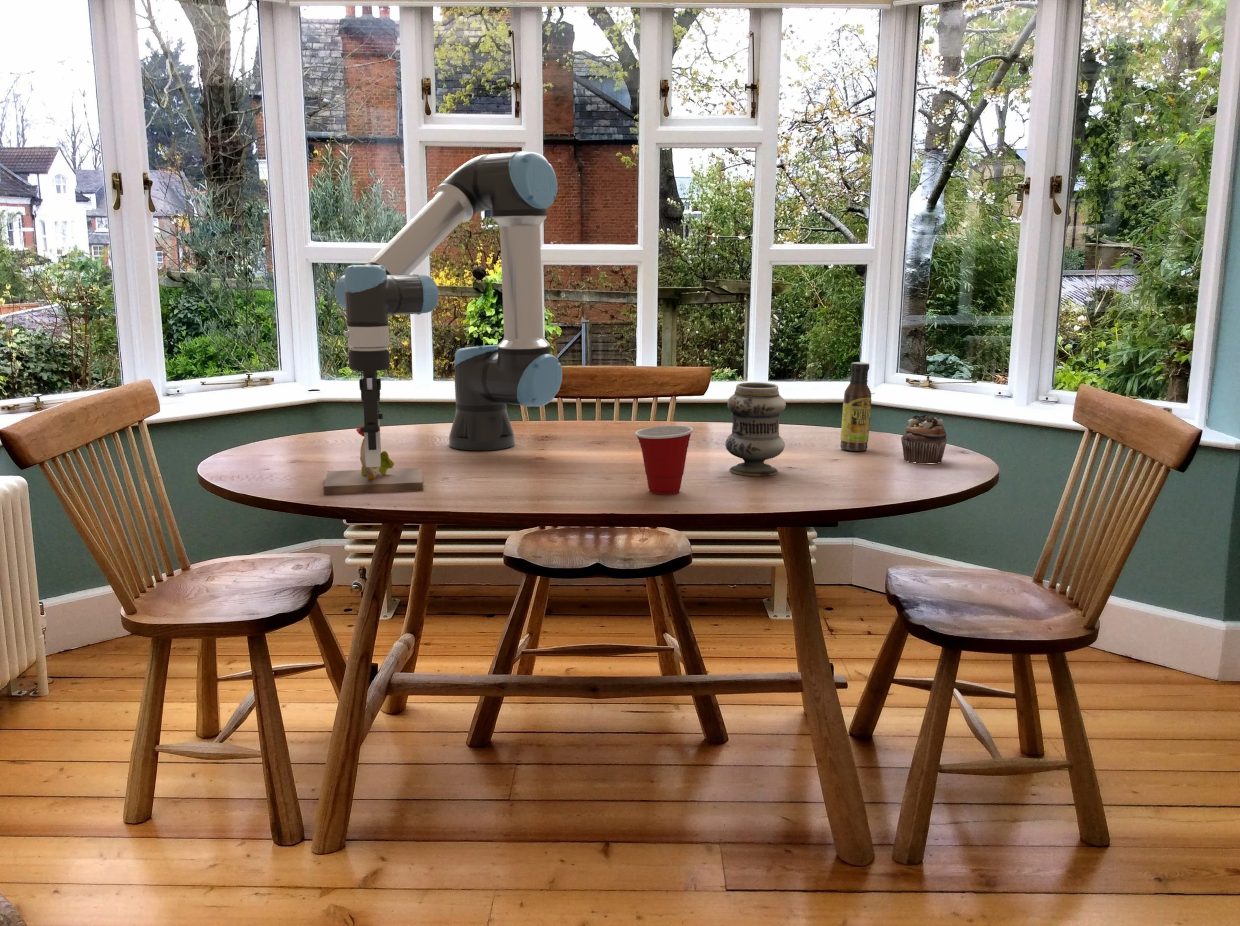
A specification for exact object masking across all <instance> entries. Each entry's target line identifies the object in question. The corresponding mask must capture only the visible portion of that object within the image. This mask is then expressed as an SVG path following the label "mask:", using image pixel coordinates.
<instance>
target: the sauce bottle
mask: <svg viewBox="0 0 1240 926" xmlns="http://www.w3.org/2000/svg"><path fill="white" fill-rule="evenodd" d="M869 370H870V363H869V362H863V361H856V362H855V361H854V362H851V364H850V379H849V384H848V386H847V387H846V389H845V391H844V393H843V394H844V396H843V403H842V415H841V416H842V417H841V429H840V449H842V450H845V451H852V452H855V451H856V452H863V451H867V449H868V443H869V437H870V423H871V422H870V421H871V409H872V392H871V389H870V388H869V386H868V377H869V375H868V374H869Z"/></svg>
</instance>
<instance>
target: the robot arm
mask: <svg viewBox="0 0 1240 926" xmlns="http://www.w3.org/2000/svg"><path fill="white" fill-rule="evenodd" d="M557 193H558V181H557V176H556V172H555V169H554V167H553V166H552V164H551V163H549V161H548V159H547V158H546V157H545V156H543V155H542V154H540V153H538V152H534V151H523V150H521V151H513V152H502V153H486V154H481V155H478V156H476V157H474V158H471V159H469V160H468V161H467V162H465V163H463V164H462V165H461V166H459V167H458V168H457V169H456V170H454V171H453V172H452V173H450V174H449V175H448V176H447V177H446V178H445V179H444V180H443V181H442V182H441V183H440V184H439V185H438V186H437V187H436V189H435V192H434V194H435V196H434V197H433V198H432V199H431V200H429V201H428V203H427V204H426V205H424V207H423V208H422V209H421V210H420V211H419V212H418V213H417V214H416V215H415V216H414V217H412V219H410V220H409V221H408V222H407V223H406V224H405V225H404V227H402V229H400V230H399V231H398V232H397V233H396V234H395V236H393V238H391V239H390V241H389V242H387V243H386V244H385V245H384V246H383V247H382V248H381V249H380V250H379V251H378V252H377V253H376V254H375V255H374V256H373V257H372V258H371V259H370V260H369V261H368V262H367V263H366V264H364V265H363V264H362V265H359V264H358V265H355V264H354V265H348V266H347V267H346V268H345V271H344V274H343V275H342V276H341V277H339V278H338V279H337V281H336V283H335V287H334V296H335V297H334V298H335V299H336V302H337V303H338V304H339V306H340V307H341V308H343V309H344V310H345V312H346V325H347V330H345V331H344V332H343V335H344V336H345V337H347V346H348V347H349V348H351V349H349V350H348V352H347V354H348V358H347V359H348V368H349V370H351V371H354V372H362V375H363V376H362V378H360V379H359V390H360V398H361V399H360V400H361V402H362V403H363V427H364V428H360V430H361V433H364V436H363V439H364V440H365V461H366V467H381V459H380V453H382V444H381V441H382V440H381V430H380V431H379V428H380V429H381V423H380V422H381V420H383V419H384V417H383V415H384V414H383V413H380V409H379V402H380V401H381V390H382V378H378V372H379V371H387V370H389V369H390V367H391V364H390V363H391V362H390V361H391V360H390V350H389V349H387V348H388V347H389V346H390V333H389V332H390V331H389V329H390V328H389V316H400V315H418V316H419V315H422V314H427V313H431V312H432V311H433V310H434V309H435V308H436V307H437V304H438V300H439V289H438V286H437V284H436V282H435V281H434V279H433V278H431V277H430V276H428V275H425V274H424V275H423V274H417V273H416V274H412V272H414V271H415V270H416V268H417V267H419V266H420V265H421V263H423V261H424V260H425V259H426V258H428V256H430V254H431V253H432V252H433V251H434V250H435V249H436V248H437V247H438V246H439V245H440V244H441V243H442V242H443V241H444V240H445V239H446V238H447V237H448V236H449V235H450V234H451V233H452V232H453V231H454V230H455V228H457V227H458V225H460V223H467V222H469V221H471V219H472V218H474V216H475V215H477V214H479V213H481V212H486V211H490V210H491V213H492V219H493V220H494V221H495V222H496V223H497V225H498V226H499V235H500V263H501V284H502V286H501V289H502V316H503V318H502V319H503V338H502V340H501V341H500V342H499V343H498V344H491V345H479V346H471V347H461V348H459V349H457V350H456V351H455V353H454V365H453V370H454V371H453V372H454V374H453V375H454V393H455V395H454V396H455V414H454V418H453V422H452V425H451V428H450V431H449V435H448V445H449V447H450V448H452V449H457V450H464V451H495V450H502V449H507V448H511V447H514V446H515V444H516V442H515V441H516V439H515V433H514V429H513V427H512V424H511V421H510V418H509V414H508V411H507V410H508V409H507V408H508V407H507V405H508V404H509V405H517V406H522V407H526V408H529V407H535V408H537V407H543V406H546V405H548V404H549V403H550V402H552V401H553V400H554V399H555V397H556V395H557V394H558V393H559V391H560V388H561V385H562V381H563V368H562V364H561V363H560V362H559V358H557V357H556V356H554V355H553V354H552V353H551V352H552V351H551V343H550V342H549V341H548V340H547V339H546V338H545V337H544V323H543V322H544V321H543V320H544V319H543V318H544V317H543V316H544V315H543V283H542V254H541V247H542V246H541V225H542V223H543V222H544V221H545V220H547V216H548V215H547V214H548V213H547V212H548V211H547V209H548V208H549V207H550V206H552V205H553V204H554V202H555V199H556V198H557V195H558V194H557ZM378 422H379V423H378Z"/></svg>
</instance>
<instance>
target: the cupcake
mask: <svg viewBox="0 0 1240 926" xmlns="http://www.w3.org/2000/svg"><path fill="white" fill-rule="evenodd" d="M907 423H908V425H907V426H906V427H905V429H904V430H905V432H904V434H903V435H902V437H900V440H901V445H902V453H903V461H904V460H906V461H909V462H908V463H910V462H916V463H937V464H939V463H938V462H941V463H942V461H943V458H944V453H945V449H946V446H947V444H948V443H947V442H948V441H947V439H948V438H947V436H948V435H947V432H946V429H945V426H944V420H943V419H942V418H940V417H939V416H938V417H937V416H936V417H934V416H932V417H930V416H929V415H928V414H923V415H921V416H918V415H914V416H911V419H909V420H907ZM906 461H905V462H906ZM916 463H915V464H916Z"/></svg>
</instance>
